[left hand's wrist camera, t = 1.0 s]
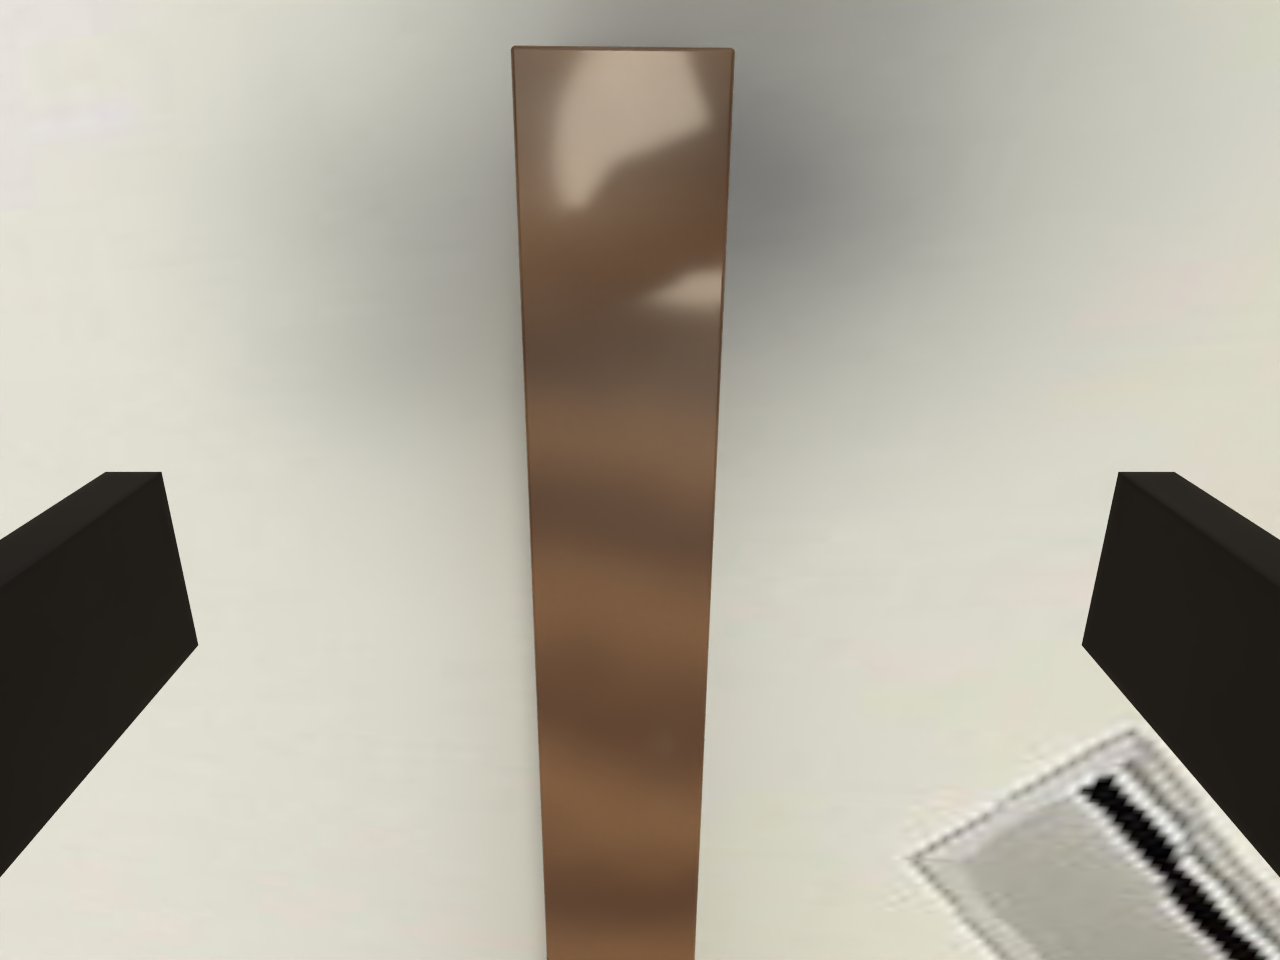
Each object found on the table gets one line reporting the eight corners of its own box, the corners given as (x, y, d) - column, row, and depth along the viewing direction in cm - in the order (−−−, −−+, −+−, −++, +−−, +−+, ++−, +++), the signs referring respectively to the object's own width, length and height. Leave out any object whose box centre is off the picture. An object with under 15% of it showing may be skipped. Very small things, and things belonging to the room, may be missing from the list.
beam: (546, 67, 29) (510, 45, 21) (710, 69, 29) (735, 47, 21) (577, 1234, 52) (565, 1433, 44) (669, 1235, 52) (673, 1434, 44)
